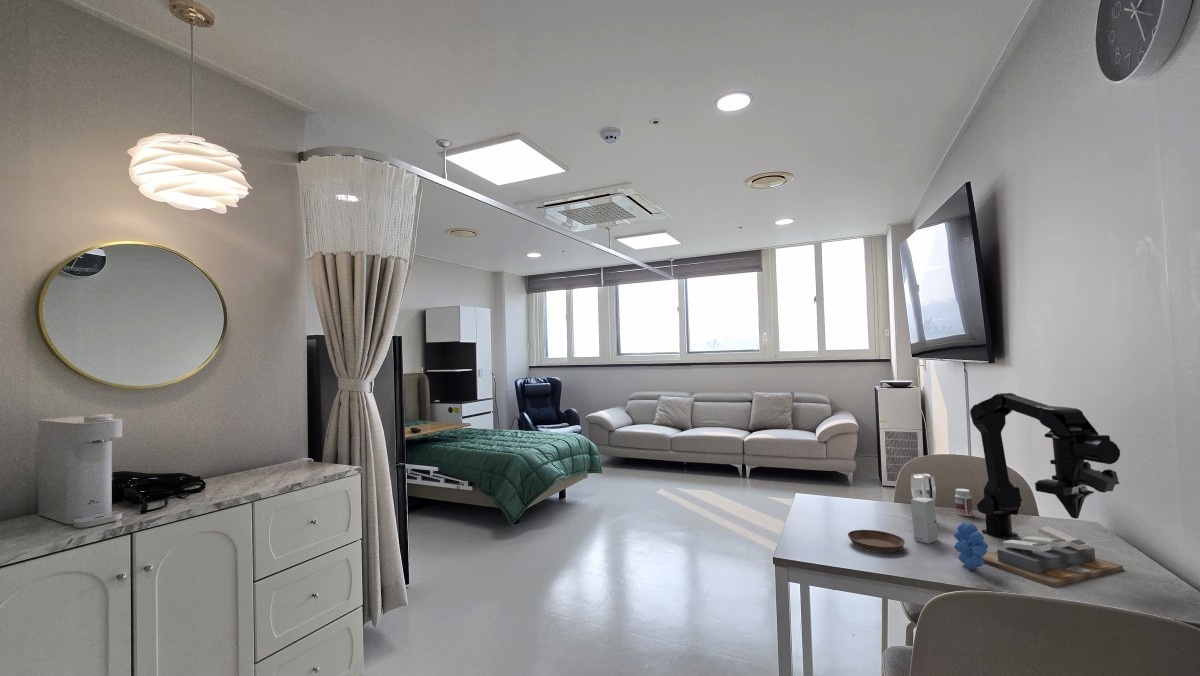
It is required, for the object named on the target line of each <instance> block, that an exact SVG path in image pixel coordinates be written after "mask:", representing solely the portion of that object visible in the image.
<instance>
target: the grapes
mask: <svg viewBox="0 0 1200 676" xmlns="http://www.w3.org/2000/svg"><path fill="white" fill-rule="evenodd" d="M956 529H957V530H956V531H955V532H954V534H953V537H954V538H955V539H956V541H957V542H955V544H954V546H953V548H954V549H955V550H956V551H957V552H958V553H960V554H959V555H958V559H959V561H960V562H961V563H962V564H964V565H965V566H966V567H967V568H968V569H969V570H971V571H974V570H977V568H981V567H982V566H984V564H985V563H984V562H985V560H984V559H983V558H982V556H984V555H985V554H987V552H988V551H987V549H988V547H989V545H988V544H987V542H985V541H984V539H985V537H984V536H983V534H981V533H980V532H979V529H978V527H977V526H976V525H975V524H974V523H971V522H970V523H969V522H968V523H967V522H961V523H960V524H959V525H958V526H957V527H956Z"/></svg>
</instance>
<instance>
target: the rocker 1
mask: <svg viewBox="0 0 1200 676" xmlns="http://www.w3.org/2000/svg"><path fill="white" fill-rule="evenodd" d="M1002 546H1003V548H1005V547H1011V548H1018V549H1025V550H1032V551H1039V552H1043V551H1048V550H1052V549H1051V546H1050V545H1049V544H1045V543H1034V542H1026V541H1021V540H1015V539H1009V540H1004V541H1002Z"/></svg>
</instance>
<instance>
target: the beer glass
mask: <svg viewBox="0 0 1200 676" xmlns="http://www.w3.org/2000/svg"><path fill="white" fill-rule="evenodd" d="M936 491H937V489H936V482H935V476H934V475H932V474H927V473H912V474H910V492H911V496H912V499H914V498H918V497H925V498H931V499H934V505H936V493H937V492H936Z"/></svg>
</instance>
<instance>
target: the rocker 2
mask: <svg viewBox="0 0 1200 676" xmlns="http://www.w3.org/2000/svg"><path fill="white" fill-rule="evenodd" d="M1037 533H1039V534H1041V535H1043V536H1046V537H1047V538H1052V539H1063V540H1067V541H1069V543H1070V547H1072V548H1074V549H1076V550H1082V549H1087V548H1088V547H1089V543H1087V542H1085V541H1082V540H1081V539H1078V538H1075V537H1074V536H1071V535H1068V534H1066V533H1064V532H1061V531H1059V530H1057V529H1055V528H1052V527H1051V526H1043V527H1039V528H1038V532H1037Z"/></svg>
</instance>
